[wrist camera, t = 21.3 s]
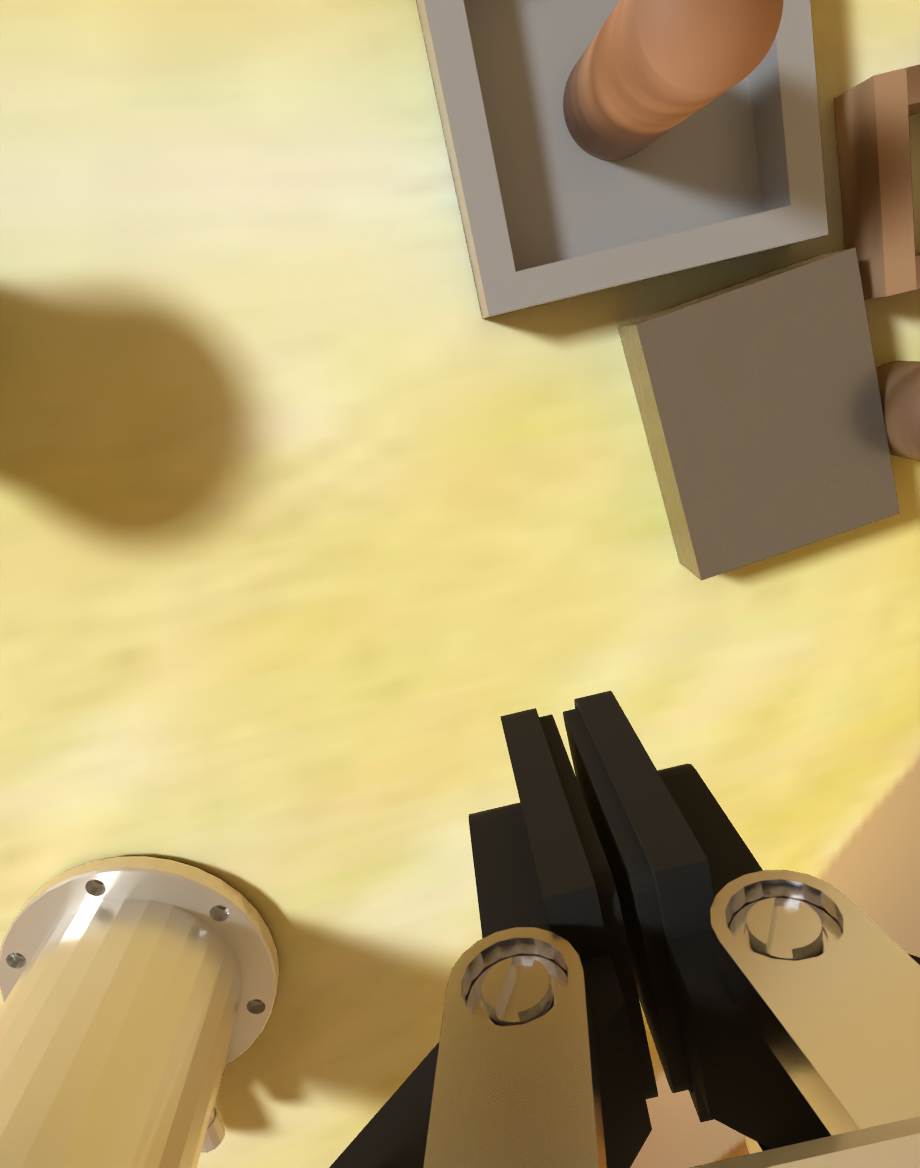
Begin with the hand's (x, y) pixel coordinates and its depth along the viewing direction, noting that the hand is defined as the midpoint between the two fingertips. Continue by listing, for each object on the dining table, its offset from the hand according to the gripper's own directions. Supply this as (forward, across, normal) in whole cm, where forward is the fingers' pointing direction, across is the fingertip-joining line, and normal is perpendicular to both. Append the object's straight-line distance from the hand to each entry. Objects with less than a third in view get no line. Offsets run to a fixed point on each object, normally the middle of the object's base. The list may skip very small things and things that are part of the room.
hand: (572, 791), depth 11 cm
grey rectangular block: (+22, -12, -1) cm, 24 cm away
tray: (+21, -8, -13) cm, 26 cm away
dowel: (+20, -8, -13) cm, 26 cm away
